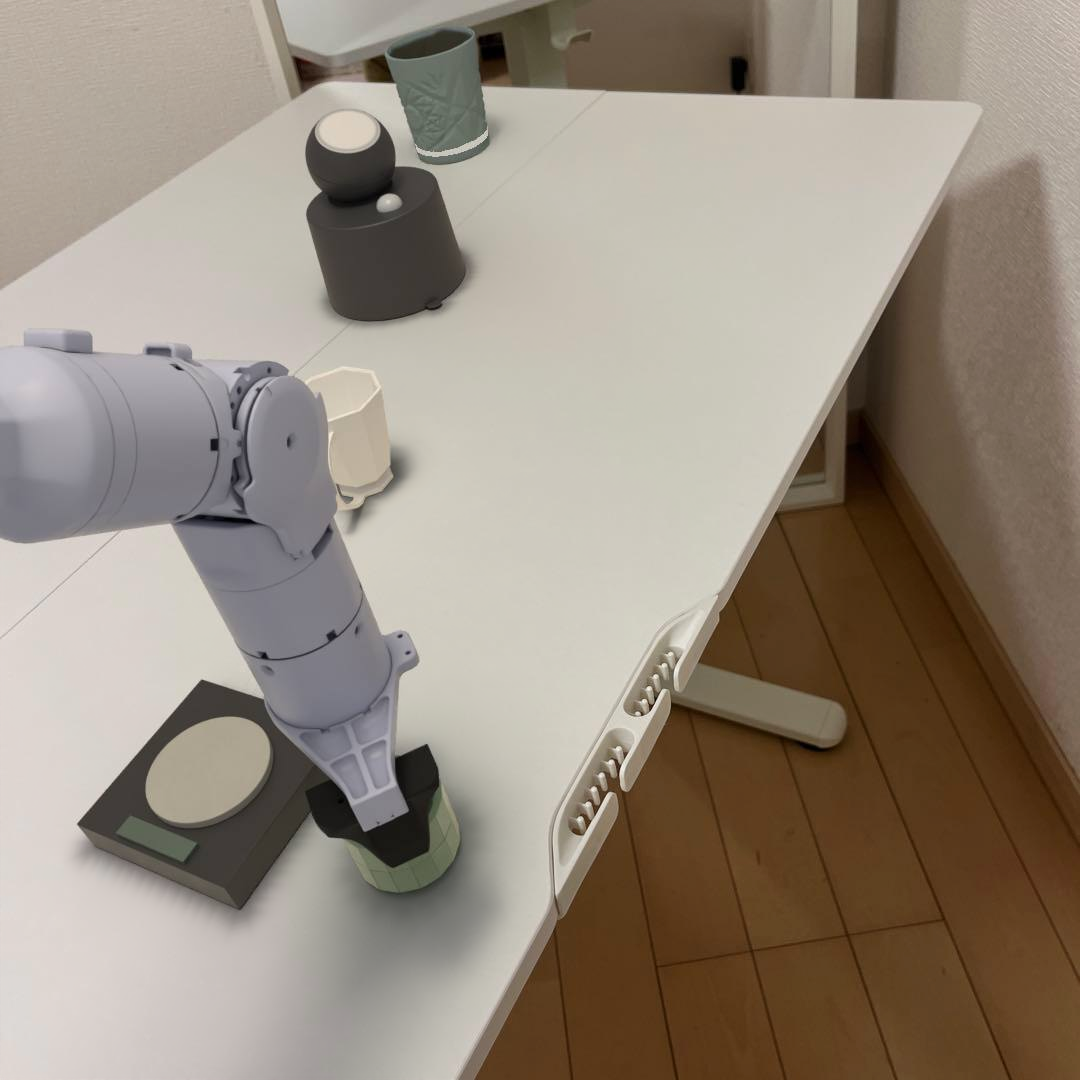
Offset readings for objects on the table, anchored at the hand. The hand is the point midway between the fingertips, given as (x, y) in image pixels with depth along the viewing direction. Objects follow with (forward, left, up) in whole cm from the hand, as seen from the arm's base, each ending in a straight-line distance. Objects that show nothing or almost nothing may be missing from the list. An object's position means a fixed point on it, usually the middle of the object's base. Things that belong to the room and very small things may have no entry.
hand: (385, 795), depth 55 cm
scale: (-3, +12, -5) cm, 13 cm away
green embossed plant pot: (+73, +59, -5) cm, 94 cm away
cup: (+21, +24, -5) cm, 32 cm away
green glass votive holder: (0, 0, -5) cm, 5 cm away
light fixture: (+46, +43, -5) cm, 63 cm away
